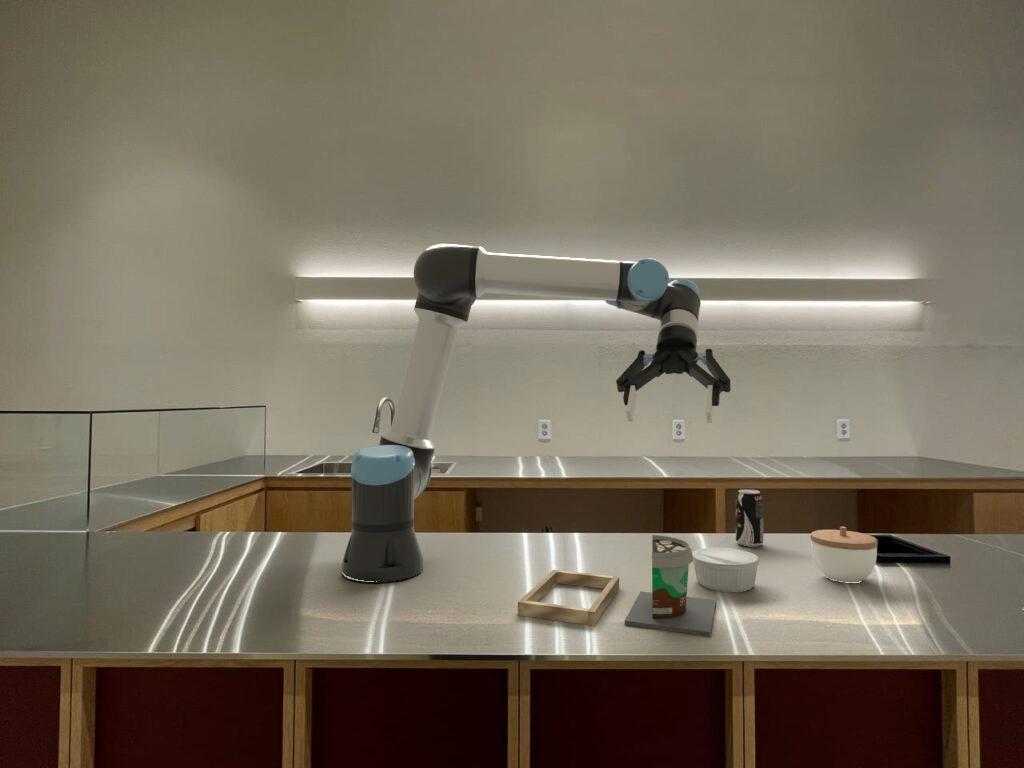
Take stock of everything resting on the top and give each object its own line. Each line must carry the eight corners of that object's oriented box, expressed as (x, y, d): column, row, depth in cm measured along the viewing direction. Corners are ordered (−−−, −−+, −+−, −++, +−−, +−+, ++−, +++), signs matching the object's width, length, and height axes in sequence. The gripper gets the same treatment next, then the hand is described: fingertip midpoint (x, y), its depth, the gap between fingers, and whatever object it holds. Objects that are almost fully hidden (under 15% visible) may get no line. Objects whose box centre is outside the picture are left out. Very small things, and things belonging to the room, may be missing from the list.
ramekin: (689, 591, 105) (689, 560, 105) (694, 572, 115) (693, 544, 115) (760, 598, 101) (760, 566, 101) (757, 579, 112) (757, 550, 112)
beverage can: (733, 541, 139) (732, 488, 139) (759, 542, 138) (759, 488, 138) (739, 547, 133) (738, 492, 133) (766, 548, 132) (766, 493, 133)
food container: (696, 626, 87) (696, 556, 88) (652, 622, 89) (652, 553, 89) (691, 597, 99) (691, 536, 100) (652, 594, 101) (652, 534, 101)
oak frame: (517, 615, 94) (517, 601, 94) (553, 580, 110) (553, 569, 110) (594, 625, 89) (594, 612, 89) (619, 588, 106) (619, 576, 106)
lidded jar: (874, 574, 114) (873, 523, 114) (881, 591, 104) (881, 536, 104) (810, 567, 118) (809, 519, 118) (811, 583, 109) (811, 530, 109)
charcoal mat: (624, 624, 90) (624, 620, 90) (640, 594, 103) (640, 591, 103) (710, 636, 85) (710, 632, 85) (715, 603, 98) (715, 599, 98)
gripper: (744, 350, 119) (744, 432, 105) (617, 353, 128) (601, 429, 114) (744, 320, 114) (744, 402, 100) (612, 325, 123) (594, 401, 109)
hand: (668, 417), depth 107 cm, fingers open, 13 cm apart
